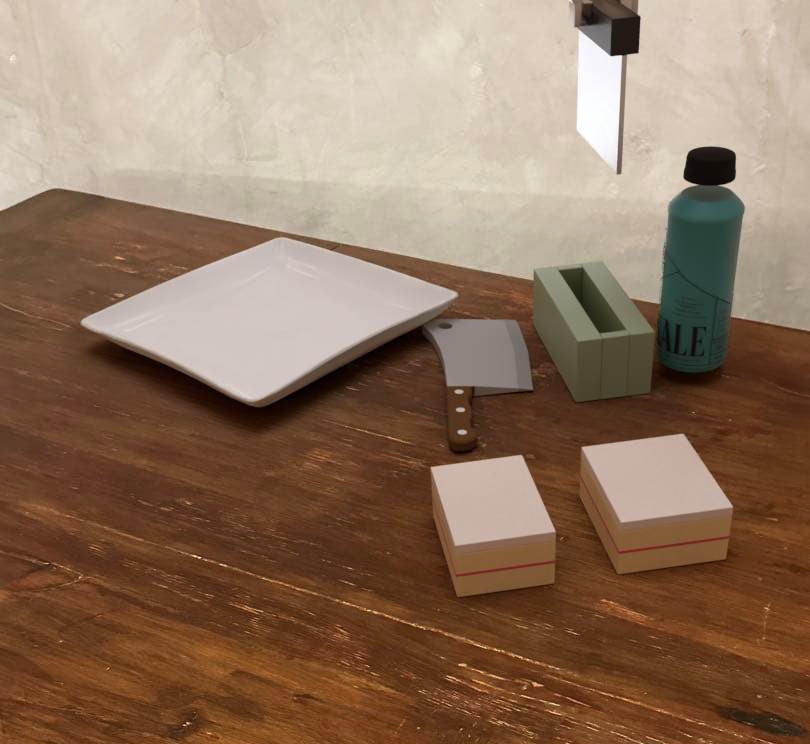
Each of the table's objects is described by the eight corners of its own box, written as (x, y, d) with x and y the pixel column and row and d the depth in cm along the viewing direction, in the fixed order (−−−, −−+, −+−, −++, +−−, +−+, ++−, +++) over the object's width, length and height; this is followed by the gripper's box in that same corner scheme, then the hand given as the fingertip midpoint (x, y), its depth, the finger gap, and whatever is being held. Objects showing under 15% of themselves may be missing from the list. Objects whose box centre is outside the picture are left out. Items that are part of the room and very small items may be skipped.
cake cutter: (590, 128, 99) (595, -16, 92) (632, 172, 90) (641, 16, 83) (566, 131, 99) (569, -13, 92) (605, 176, 89) (611, 19, 82)
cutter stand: (599, 317, 112) (602, 260, 109) (650, 393, 100) (655, 331, 96) (532, 325, 112) (533, 268, 108) (575, 402, 99) (577, 341, 96)
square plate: (464, 325, 113) (463, 288, 110) (258, 438, 97) (251, 399, 95) (285, 261, 128) (280, 228, 126) (82, 351, 113) (73, 315, 111)
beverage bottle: (721, 354, 105) (748, 136, 93) (730, 389, 99) (759, 163, 87) (650, 354, 105) (667, 138, 93) (655, 389, 100) (674, 165, 88)
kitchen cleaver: (546, 441, 93) (425, 441, 93) (545, 452, 93) (425, 452, 93) (522, 315, 112) (422, 315, 112) (521, 324, 113) (422, 325, 113)
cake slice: (522, 504, 87) (522, 454, 84) (555, 584, 79) (556, 531, 76) (432, 516, 87) (430, 466, 84) (456, 598, 79) (454, 545, 76)
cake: (678, 483, 88) (683, 432, 86) (726, 559, 80) (734, 506, 77) (578, 496, 88) (580, 446, 85) (617, 575, 80) (620, 522, 77)
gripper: (476, -170, 77) (480, 45, 85) (765, -195, 78) (741, 19, 87) (459, -177, 82) (465, 27, 90) (731, -200, 83) (711, 2, 92)
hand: (602, 23), depth 88 cm, fingers closed on cake cutter, 2 cm apart
